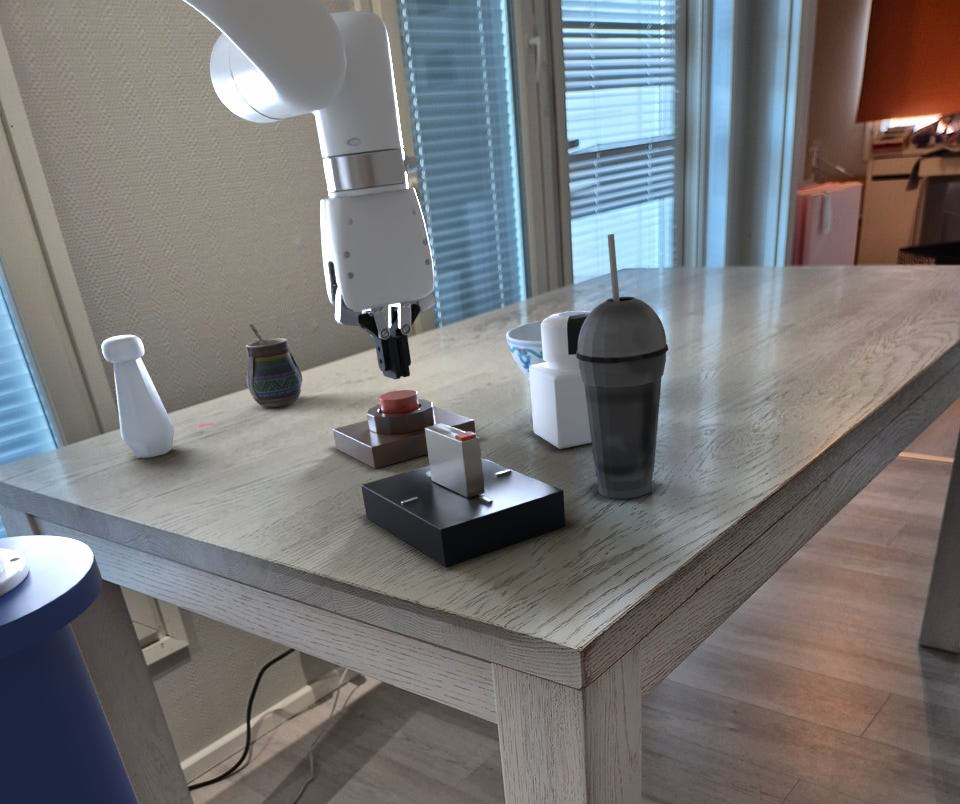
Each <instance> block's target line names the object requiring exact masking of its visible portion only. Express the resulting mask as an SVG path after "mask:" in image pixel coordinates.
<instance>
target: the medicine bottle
mask: <svg viewBox="0 0 960 804" xmlns="http://www.w3.org/2000/svg"><path fill="white" fill-rule="evenodd" d="M591 311H592V310H571V311H562V312H557V313H553V314H551V315H548V316H547V317H546V318H544V319H543V322H542V323H541V336H542V352H543V360H544V361H546V362H545V363H539V364H534V365H531V366H530V367H529V376H530V380H529V388H530V390H529V391H530V402H531V415H532V429H533V433H534V434H535V435H536V436H538V437H540V438H541V439H543V440H544V441H546V442H548V443H549V444H550V445H553V446H554V447H555V448H557V449H559V450H563V449H568V448H572V447H578V446H582V445H587V444H592V441H591V433H590V425H589V417H588V409H587V401H586V393H585V385H584V383H583V381H582V376H581V372H580V368H579V359H577V358H576V352H577V350H578V339H579V334H580V331H581V327H582V325H583V323H584V321H585V319H586V318H587V316H588V315H589V314H590V312H591Z"/></svg>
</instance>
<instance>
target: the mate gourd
mask: <svg viewBox="0 0 960 804" xmlns="http://www.w3.org/2000/svg"><path fill="white" fill-rule="evenodd" d="M248 326H249V327H250V329H251V331H252V332H253V334H254V336H255V337H256V339H257V340H256V341H252V342H249V343H247V344H246V345H245V350H246V355H247V356H248V363H247V372H246V385H247V388H248V391H249V393H250V395H251V396H252V399H253V400H254V401H255V402H256V403H257V404H258V405H259V406H261V407H262V408H264V409H265V408H278V407H279V408H280V407H284V406H285V407H286V406H288V405H291V404H293V403H295V402H296V401H297V400H298V398H299V397H300V395H301V392H302V385H303V384H302V383H303V374H302V371H301V370H300V369H301V368H300V367H299V365H298V363H297V362H296V360H295V358H294V356H293V354H292V353H291V351H290V345H289V340H288V339H287V338H285V337H277V338H267V339H263V338H262V336H261V335H260V334H259V331H258V330H257V329H256V327H255V326H254V324H253V323H252V324H248Z"/></svg>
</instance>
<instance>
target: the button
mask: <svg viewBox="0 0 960 804" xmlns="http://www.w3.org/2000/svg"><path fill="white" fill-rule="evenodd" d="M378 399H379V400H378V401H379V404H380V406H381V413H382V414H398V413H406V412H410V411H414V410H416V409H418V408H419V403H418V399H419V398H418V391H416V390H413V389H399V390H393V391H388V392H385V393H383V394H381V395H380V396H379V397H378Z"/></svg>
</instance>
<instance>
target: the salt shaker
mask: <svg viewBox="0 0 960 804" xmlns="http://www.w3.org/2000/svg"><path fill="white" fill-rule="evenodd" d="M145 351H146V350H145V347H144V344H143V341H142V339H141V338H140V337H138V335H135V334H134V335H133V334H123V335H115V336H111V337H109V338H106V339H104V340H103V342H102V343H101V352H102V355H103V358H104V359H105V361H107V362H109V363H112V364H113V374H114V383H115V384H114V385H115V394H116V400H117V401H116V402H117V411H118V412H117V413H118V420H119V430H120V437H121V439H122V441H123V443H124V444H125V445H126V446H127V447H128V448H129V449H130V450H131V451H132V453H133V454H134V456H135V457H136V458H154V457H158V456H161V455H165V454H167V453H169V452H170V451H171V450H173V445H174V444H173V443H174V436H175V435H174V434H175V428H174V425H173V422H172V420H171V419H170V416H169V414H168V412H167V410H166V407H165V405H164V404H163V401H162V399H161V397H160V395H159V393H158V391H157V389H156V386H155V385H154V383H153V380H152V378H151V376H150V374H149V372H148V370H147V368H146V365H145V363H144V362H143V360H142V357H143V356H144V355H145Z"/></svg>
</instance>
